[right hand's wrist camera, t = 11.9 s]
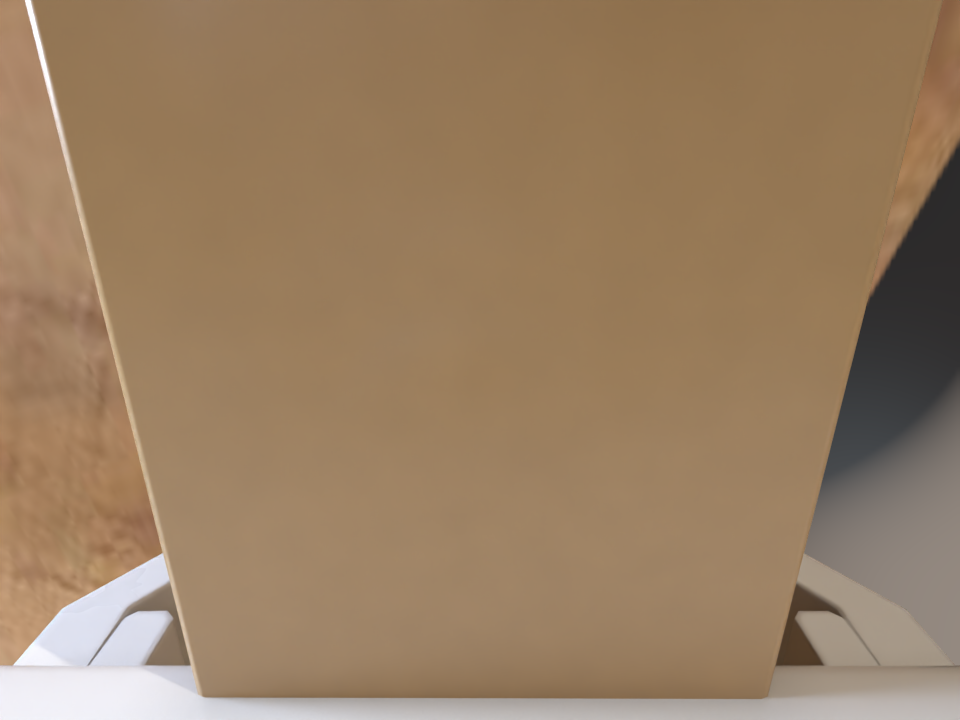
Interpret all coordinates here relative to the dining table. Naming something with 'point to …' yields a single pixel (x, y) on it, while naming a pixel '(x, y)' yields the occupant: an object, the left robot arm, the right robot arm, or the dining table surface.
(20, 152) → the dining table surface
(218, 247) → the bar
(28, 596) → the dining table surface
